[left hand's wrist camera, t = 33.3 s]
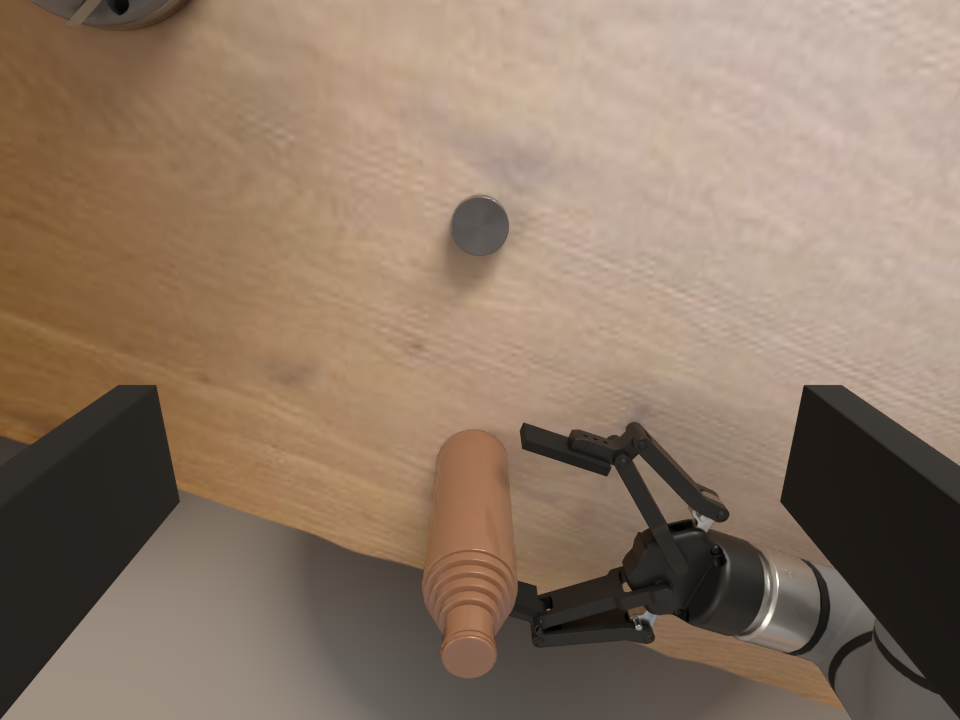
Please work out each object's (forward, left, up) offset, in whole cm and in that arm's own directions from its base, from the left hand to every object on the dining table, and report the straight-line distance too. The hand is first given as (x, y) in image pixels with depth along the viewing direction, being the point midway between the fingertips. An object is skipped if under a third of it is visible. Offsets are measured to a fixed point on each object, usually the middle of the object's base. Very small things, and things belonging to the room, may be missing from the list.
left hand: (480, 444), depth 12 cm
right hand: (+11, -17, -28) cm, 34 cm away
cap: (0, 0, -33) cm, 33 cm away
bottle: (+10, -17, -34) cm, 39 cm away
